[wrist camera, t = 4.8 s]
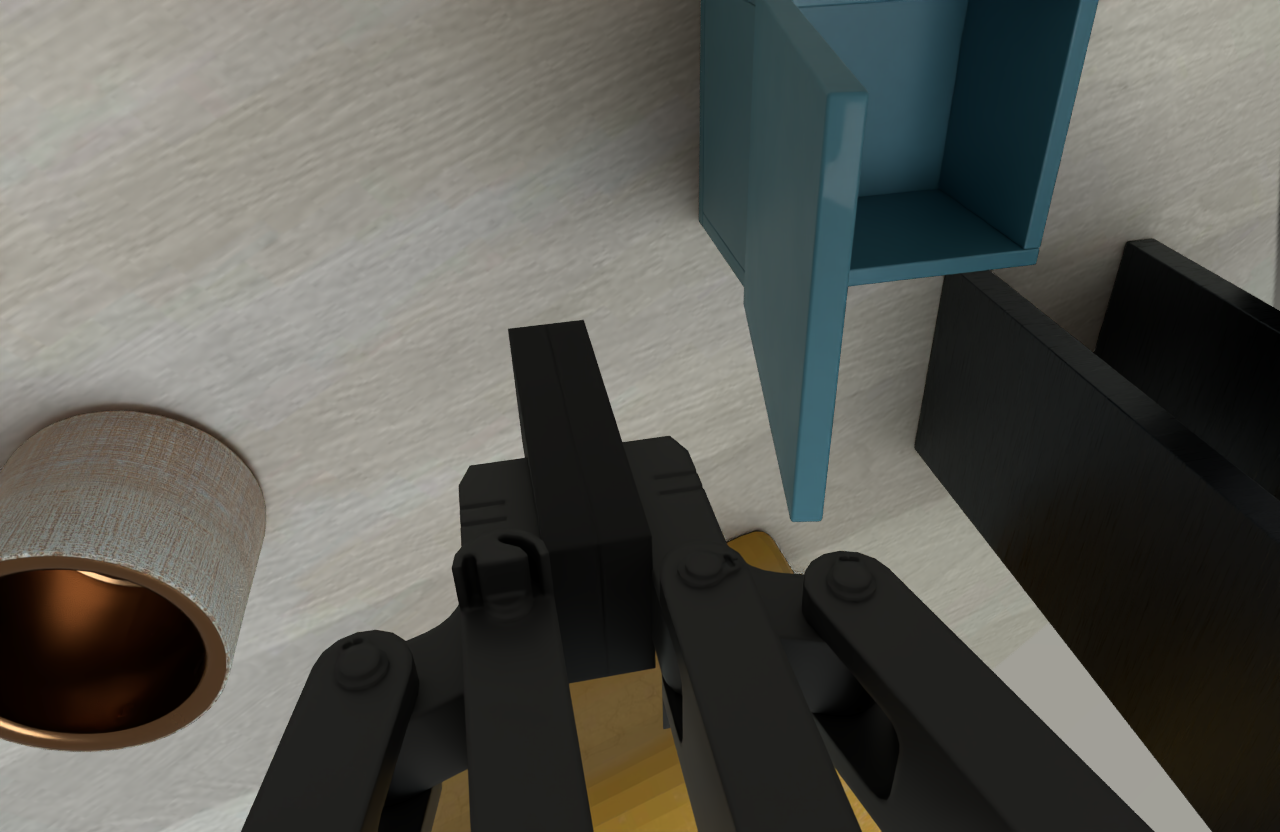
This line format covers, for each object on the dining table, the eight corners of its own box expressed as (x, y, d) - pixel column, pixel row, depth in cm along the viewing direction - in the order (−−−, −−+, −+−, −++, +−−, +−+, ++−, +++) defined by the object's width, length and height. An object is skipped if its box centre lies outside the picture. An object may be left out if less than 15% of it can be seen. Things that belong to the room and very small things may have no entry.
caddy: (984, -63, 35) (1108, -37, 28) (942, 196, 40) (1036, 265, 34) (700, -46, 33) (764, -15, 27) (698, 221, 39) (750, 298, 32)
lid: (870, 91, 16) (827, 93, 16) (822, 522, 22) (790, 523, 22) (782, -13, 26) (755, -12, 26) (765, 304, 32) (743, 304, 32)
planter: (269, 590, 45) (236, 751, 37) (24, 587, 42) (-68, 760, 34) (268, 411, 40) (228, 555, 32) (-15, 393, 37) (-135, 546, 29)
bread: (512, 810, 59) (534, 1067, 47) (393, 714, 52) (382, 988, 40) (840, 644, 56) (954, 871, 44) (763, 517, 49) (873, 747, 37)
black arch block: (1153, 238, 44) (1882, 654, 22) (1096, 421, 50) (1620, 891, 28) (946, 261, 42) (1507, 736, 20) (913, 448, 49) (1317, 968, 26)
